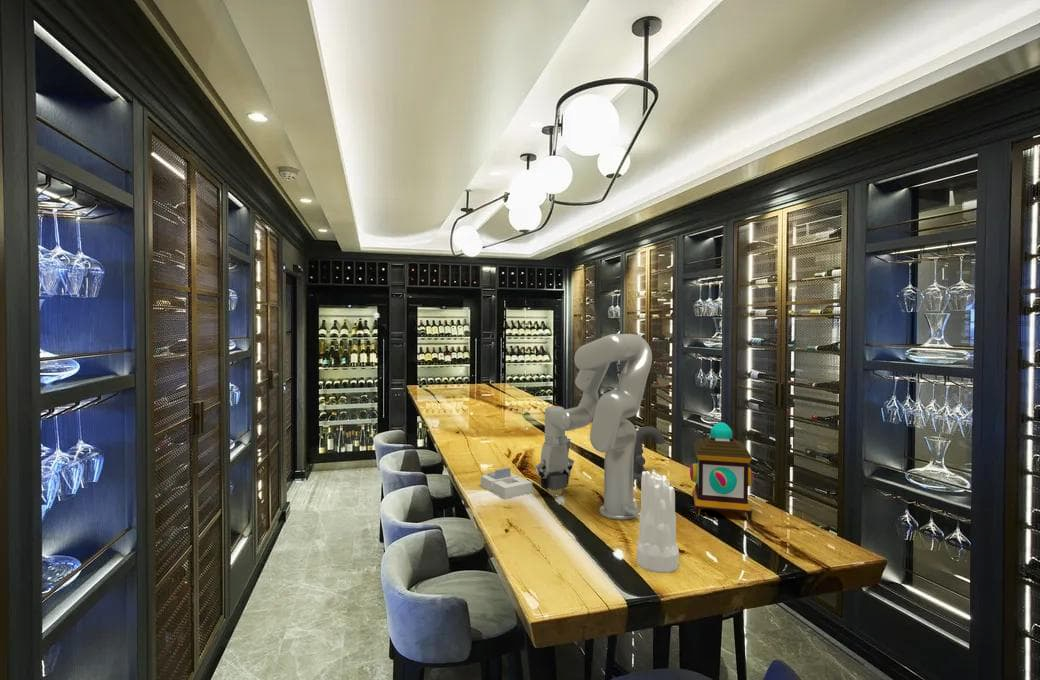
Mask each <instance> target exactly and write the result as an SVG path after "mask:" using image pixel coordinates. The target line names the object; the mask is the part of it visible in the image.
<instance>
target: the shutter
mask: <svg viewBox="0 0 1040 680" xmlns="http://www.w3.org/2000/svg"><path fill="white" fill-rule="evenodd" d="M510 473H511V467H505V468H504V467H503V468H498V469H495V471H492V472H487V473H486V475H488V476H490V477H493V478H495V479H500V478H505V477H510V476H511V474H510Z"/></svg>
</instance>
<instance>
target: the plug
mask: <svg viewBox="0 0 1040 680" xmlns="http://www.w3.org/2000/svg"><path fill="white" fill-rule="evenodd" d="M544 474H545V473H544ZM546 478H547V479H548V489H547V492H548V493H549V494H551V495H553V496H552V497H554V496H555V497H557V496H556V495H559V496H561V495H560V494H562V495H563V491H562V490H563V489H565V488H568V485H567V475H566V474H563V473H561V472H558V471H556V472H551V473H549V474H548V476H547V477H546ZM548 493H547V494H548ZM549 494H548V495H549ZM551 495H550V496H551Z"/></svg>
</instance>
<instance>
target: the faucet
mask: <svg viewBox="0 0 1040 680" xmlns="http://www.w3.org/2000/svg"><path fill="white" fill-rule="evenodd" d="M646 438H651V439H652V440H653V443H655V444H658V445H664V444H665V442H666V441H665V437H664V435H663V433H662V432H661V431H660V430H659V429H658V428H656V427H653V426H651V425H649V426H648V425H647V426H642V427H640V428H638V429H637V430H636V443H635V448H634V460H633V480H641V478H642V472H644V471H645V472H646V471H647V469H646V468H645V466H644V465H645V464H646V458H645V457H644V456H643V454H644V449H643V441H644V439H646Z"/></svg>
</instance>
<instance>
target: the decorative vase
mask: <svg viewBox="0 0 1040 680" xmlns="http://www.w3.org/2000/svg"><path fill="white" fill-rule="evenodd" d="M640 487H641V488H640V510H641V511H640V513H639V514H640V515H639V516H640V517H639V521H638V524H639V526H638V528H639V529H638V530H639V531H638V539H637V543H636V545H637V546H636V549H637V550H636V552H637V553H636V554H637V555H636V557H637V558H636V564H637V565H638V566H639V567H640V568H642V569H644V570H647V571H650V572H655V573H672V572H676V571H677V570H678V568H679V565H680V564H679V559H680V558H679V557H680V556H679V553H680V552H679V551H680V550H679V547H678V544H677V516H676V491H675V488H674V486H672V485H671V484H670V482H669V481H668V478H667V476H666V475H664V474H663V475H660V474H658V473H657V471H656V470H655V469H653V468H652V471H651V472H650V471H648V470H646V472H645V471H644V472H642V478H641V479H640Z"/></svg>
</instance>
